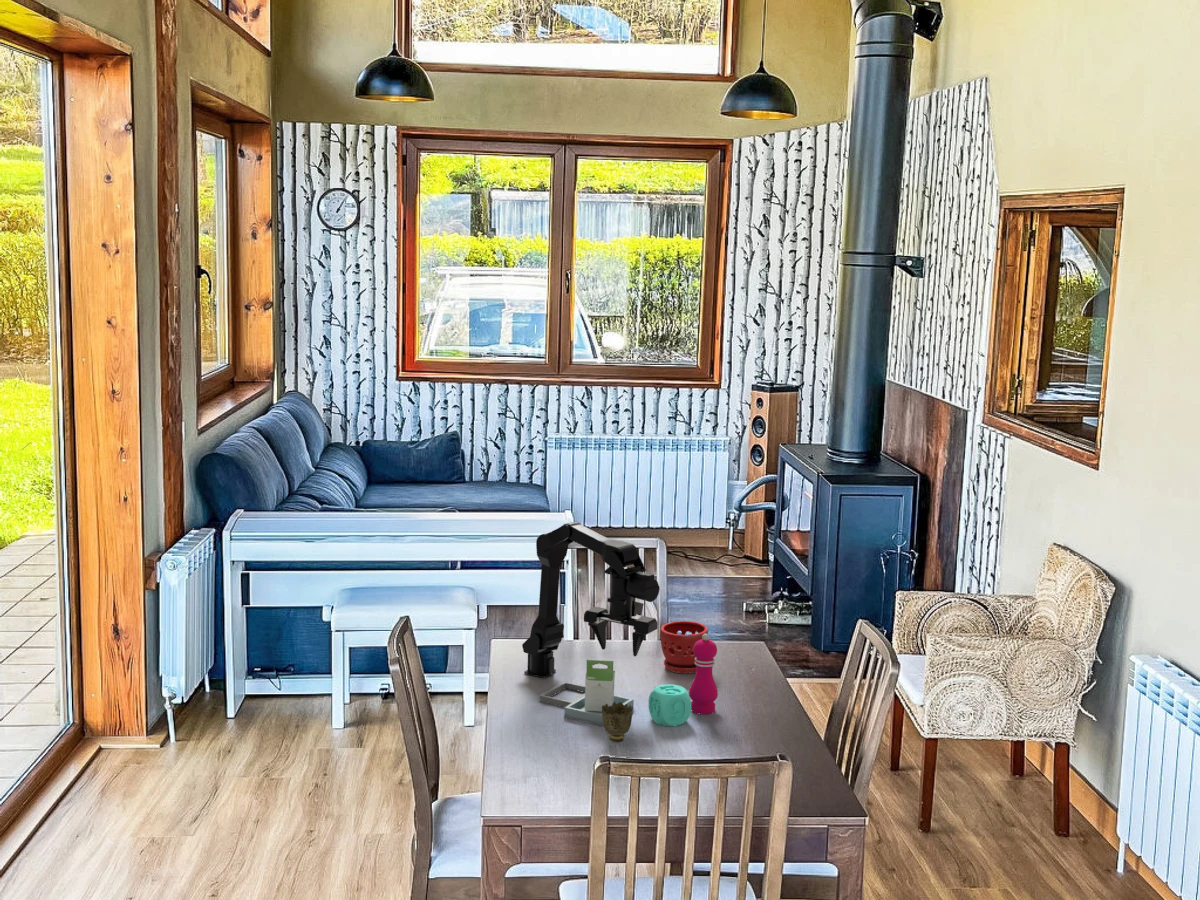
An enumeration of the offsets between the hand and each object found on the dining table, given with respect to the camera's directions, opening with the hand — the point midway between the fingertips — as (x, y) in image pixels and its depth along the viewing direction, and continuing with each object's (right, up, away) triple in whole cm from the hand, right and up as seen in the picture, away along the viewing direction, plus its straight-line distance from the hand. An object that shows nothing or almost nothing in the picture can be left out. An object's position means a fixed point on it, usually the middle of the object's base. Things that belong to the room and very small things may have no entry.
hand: (619, 652), depth 325 cm
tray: (-5, -14, -7) cm, 16 cm away
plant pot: (+18, -9, +28) cm, 35 cm away
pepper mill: (+21, -14, -3) cm, 26 cm away
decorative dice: (+12, -15, -10) cm, 22 cm away
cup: (-1, -17, -24) cm, 29 cm away
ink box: (-5, -13, -7) cm, 16 cm away
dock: (-13, -12, +3) cm, 18 cm away
